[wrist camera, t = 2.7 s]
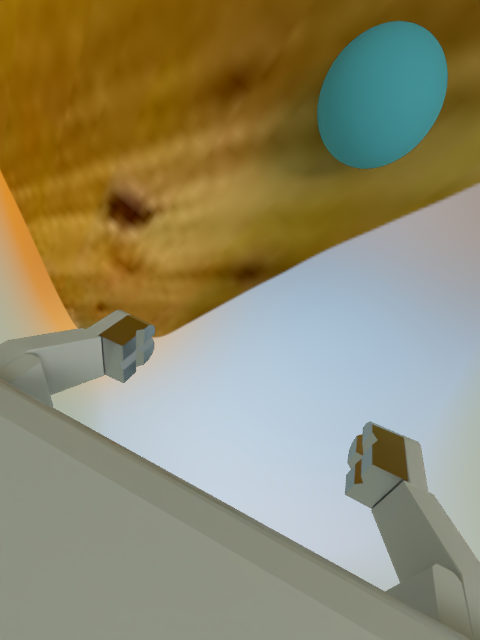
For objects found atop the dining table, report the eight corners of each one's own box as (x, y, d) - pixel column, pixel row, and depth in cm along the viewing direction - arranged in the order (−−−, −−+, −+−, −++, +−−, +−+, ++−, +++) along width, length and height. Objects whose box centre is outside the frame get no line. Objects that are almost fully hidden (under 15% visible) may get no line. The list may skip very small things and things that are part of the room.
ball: (461, 52, 15) (500, 10, 10) (401, 176, 19) (410, 187, 14) (348, 33, 16) (336, -14, 12) (312, 152, 20) (291, 154, 15)
